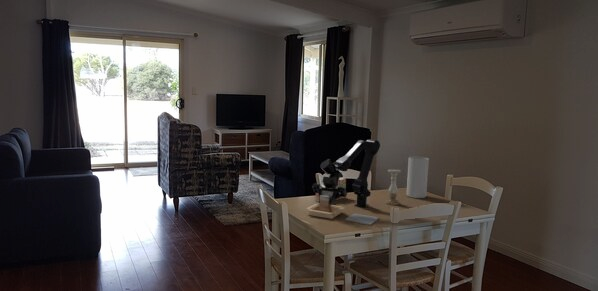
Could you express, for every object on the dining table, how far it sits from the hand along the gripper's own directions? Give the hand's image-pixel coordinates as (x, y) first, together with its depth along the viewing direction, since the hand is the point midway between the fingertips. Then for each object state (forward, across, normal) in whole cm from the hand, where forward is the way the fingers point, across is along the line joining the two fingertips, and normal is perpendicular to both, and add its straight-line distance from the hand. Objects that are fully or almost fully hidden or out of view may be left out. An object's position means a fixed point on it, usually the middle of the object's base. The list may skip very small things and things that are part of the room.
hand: (324, 203), depth 241 cm
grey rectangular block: (+3, 0, +5) cm, 6 cm away
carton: (+4, 0, +6) cm, 7 cm away
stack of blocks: (-20, -11, +30) cm, 38 cm away
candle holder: (-29, +24, +38) cm, 54 cm away
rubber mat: (+2, +20, +7) cm, 21 cm away
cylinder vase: (-48, +32, +58) cm, 82 cm away
